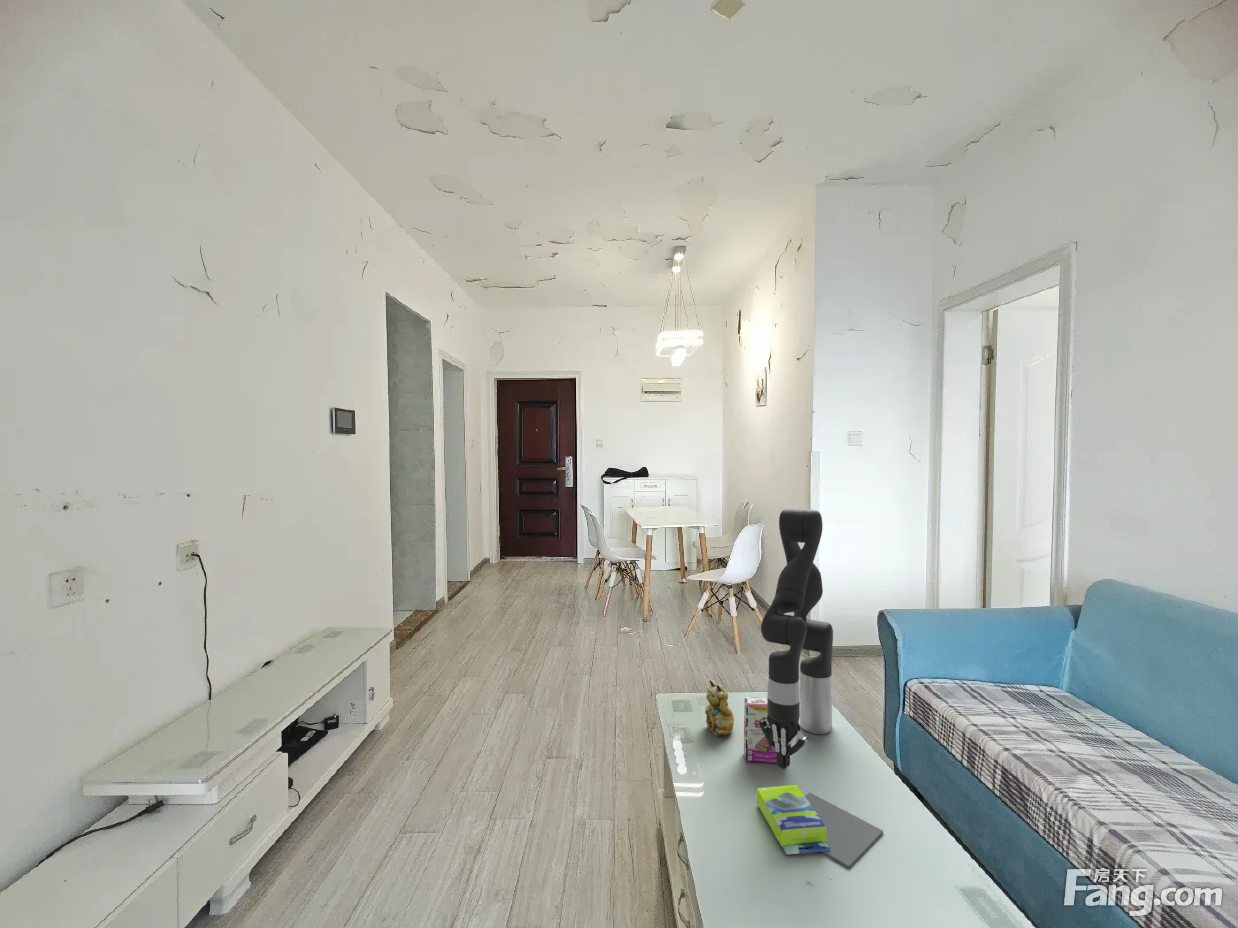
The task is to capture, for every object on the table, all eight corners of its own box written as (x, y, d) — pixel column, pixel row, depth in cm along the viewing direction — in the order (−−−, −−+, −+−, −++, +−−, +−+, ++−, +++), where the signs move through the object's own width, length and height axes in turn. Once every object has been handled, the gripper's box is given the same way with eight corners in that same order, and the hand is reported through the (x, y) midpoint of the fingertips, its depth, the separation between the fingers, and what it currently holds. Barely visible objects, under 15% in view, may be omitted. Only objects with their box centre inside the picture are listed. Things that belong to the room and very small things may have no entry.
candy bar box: (745, 763, 149) (745, 704, 149) (743, 753, 154) (743, 696, 154) (787, 765, 148) (787, 706, 147) (783, 755, 153) (783, 697, 152)
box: (796, 783, 132) (832, 831, 115) (797, 799, 132) (832, 850, 115) (755, 786, 131) (784, 836, 114) (755, 803, 131) (784, 856, 114)
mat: (809, 794, 135) (809, 792, 135) (883, 833, 121) (883, 830, 121) (772, 823, 125) (772, 820, 125) (848, 868, 111) (848, 865, 111)
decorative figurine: (700, 726, 169) (700, 678, 169) (722, 720, 173) (722, 674, 172) (718, 740, 160) (718, 690, 160) (741, 734, 164) (741, 685, 163)
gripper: (816, 701, 129) (816, 773, 129) (769, 683, 139) (768, 750, 139) (799, 711, 124) (799, 785, 124) (751, 691, 134) (751, 760, 134)
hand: (783, 766), depth 132 cm, fingers closed
